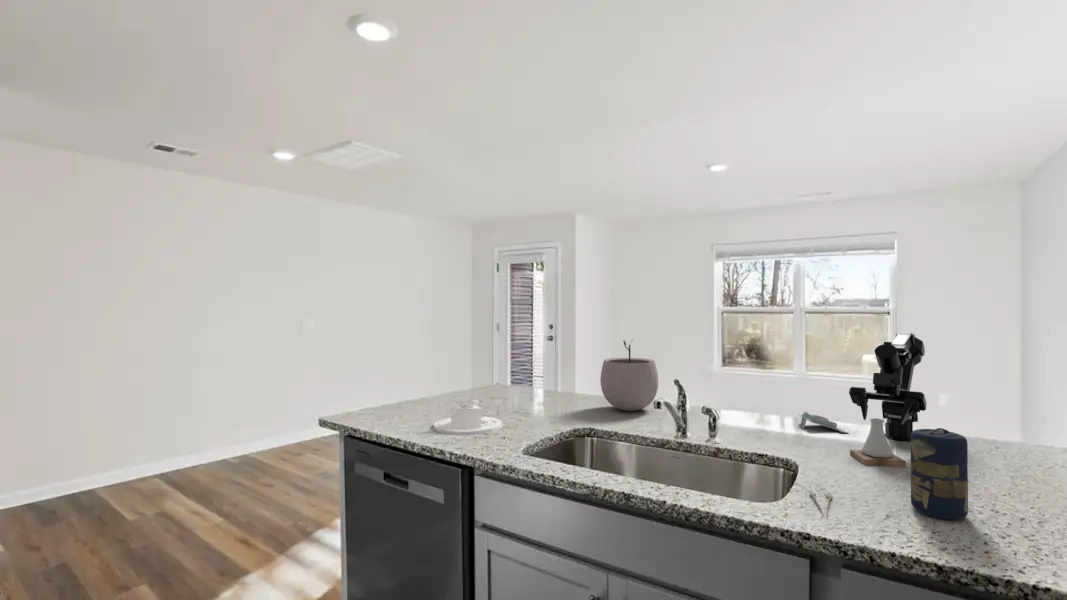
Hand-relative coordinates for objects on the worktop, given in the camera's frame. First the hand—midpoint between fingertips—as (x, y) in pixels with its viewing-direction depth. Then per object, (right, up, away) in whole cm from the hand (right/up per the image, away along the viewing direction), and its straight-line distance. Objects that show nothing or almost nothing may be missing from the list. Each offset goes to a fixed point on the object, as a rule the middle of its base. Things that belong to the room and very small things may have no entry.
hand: (882, 421), depth 152 cm
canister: (-17, -9, -43) cm, 47 cm away
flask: (-5, -8, -6) cm, 12 cm away
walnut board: (-6, -10, -6) cm, 13 cm away
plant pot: (-62, -11, +66) cm, 91 cm away
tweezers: (-40, -10, -40) cm, 58 cm away
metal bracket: (0, -11, +32) cm, 34 cm away
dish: (-126, -11, +38) cm, 132 cm away
